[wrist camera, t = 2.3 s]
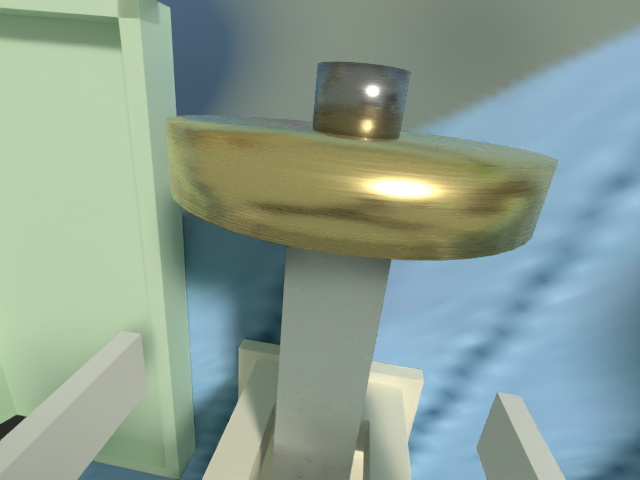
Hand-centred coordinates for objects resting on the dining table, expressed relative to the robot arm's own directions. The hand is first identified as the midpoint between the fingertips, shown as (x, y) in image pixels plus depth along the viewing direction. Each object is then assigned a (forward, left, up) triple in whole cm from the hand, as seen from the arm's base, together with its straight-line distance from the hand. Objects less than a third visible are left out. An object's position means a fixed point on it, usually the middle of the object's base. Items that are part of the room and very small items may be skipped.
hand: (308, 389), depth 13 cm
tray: (+18, +2, -9) cm, 20 cm away
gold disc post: (0, +3, -9) cm, 9 cm away
